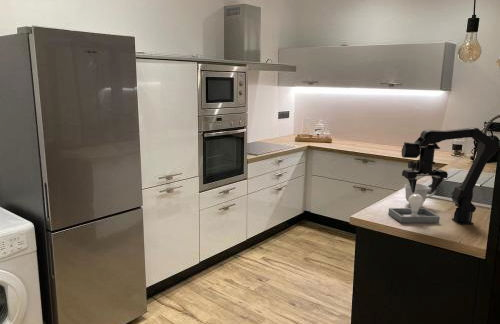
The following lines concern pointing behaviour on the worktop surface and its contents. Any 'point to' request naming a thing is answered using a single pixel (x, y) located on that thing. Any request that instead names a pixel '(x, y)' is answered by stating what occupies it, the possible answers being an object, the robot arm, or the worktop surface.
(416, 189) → the teacup
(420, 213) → the tray
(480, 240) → the worktop surface
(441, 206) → the worktop surface
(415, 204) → the lightbulb
